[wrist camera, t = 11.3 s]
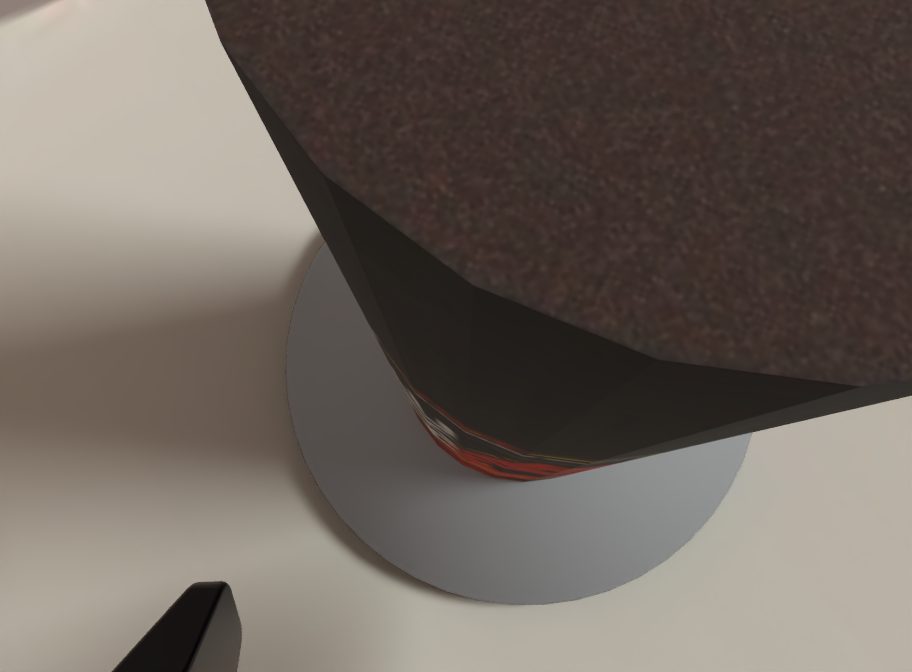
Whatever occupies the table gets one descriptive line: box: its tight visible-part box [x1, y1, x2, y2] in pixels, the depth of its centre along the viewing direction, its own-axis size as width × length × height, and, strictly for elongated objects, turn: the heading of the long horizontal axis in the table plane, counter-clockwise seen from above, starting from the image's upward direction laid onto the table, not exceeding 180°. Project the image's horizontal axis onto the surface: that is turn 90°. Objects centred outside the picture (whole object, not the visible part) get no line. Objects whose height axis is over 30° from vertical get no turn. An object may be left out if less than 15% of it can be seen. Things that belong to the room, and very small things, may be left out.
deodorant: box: [205, 0, 912, 482], centre depth 11 cm, size 6×6×15 cm
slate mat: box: [286, 242, 752, 605], centre depth 18 cm, size 12×12×1 cm
